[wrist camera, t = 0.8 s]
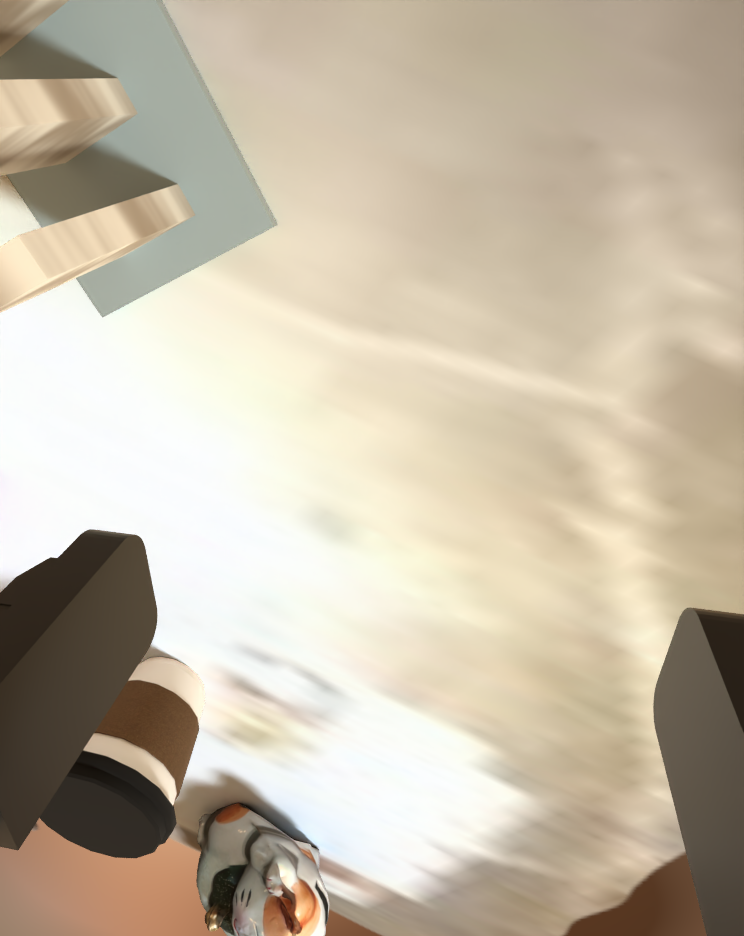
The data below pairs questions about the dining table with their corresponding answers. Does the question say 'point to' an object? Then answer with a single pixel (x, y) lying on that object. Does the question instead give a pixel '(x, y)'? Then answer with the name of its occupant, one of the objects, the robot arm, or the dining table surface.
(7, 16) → the domino
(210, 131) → the domino board
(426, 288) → the dining table surface
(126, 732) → the coffee cup
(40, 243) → the domino
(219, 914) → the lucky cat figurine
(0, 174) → the domino
